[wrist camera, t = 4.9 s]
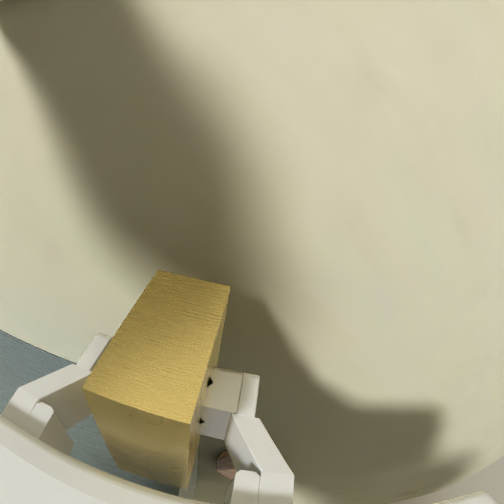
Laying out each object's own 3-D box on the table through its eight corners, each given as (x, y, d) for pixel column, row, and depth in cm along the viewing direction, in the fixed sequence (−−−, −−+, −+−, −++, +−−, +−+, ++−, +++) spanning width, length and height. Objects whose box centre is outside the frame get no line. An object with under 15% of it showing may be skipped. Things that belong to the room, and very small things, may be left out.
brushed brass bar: (230, 286, 10) (190, 424, 5) (214, 383, 12) (186, 489, 8) (158, 270, 10) (82, 387, 5) (159, 368, 12) (118, 468, 8)
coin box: (201, 400, 16) (162, 563, 7) (197, 480, 23) (179, 568, 14) (-32, 312, 16) (-100, 391, 7) (24, 416, 23) (-11, 481, 14)
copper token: (290, 449, 19) (290, 463, 17) (275, 473, 21) (275, 484, 20) (220, 441, 19) (218, 455, 18) (216, 465, 21) (214, 477, 20)
